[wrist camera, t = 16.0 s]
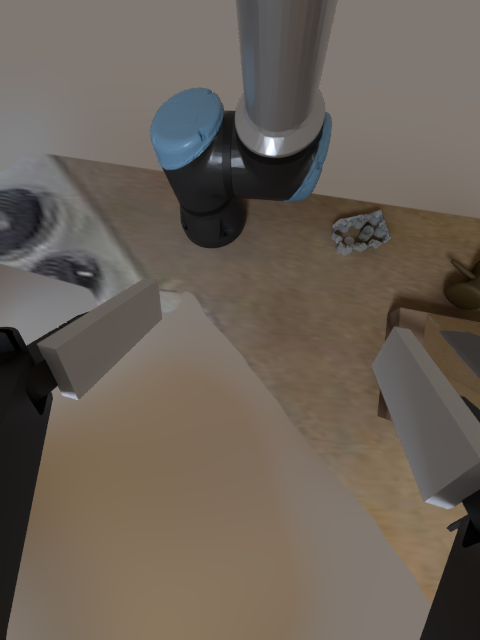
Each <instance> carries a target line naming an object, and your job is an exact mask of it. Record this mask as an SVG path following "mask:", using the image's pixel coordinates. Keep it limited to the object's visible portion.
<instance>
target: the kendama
mask: <svg viewBox="0 0 480 640" xmlns="http://www.w3.org/2000/svg"><path fill="white" fill-rule="evenodd" d="M451 263H452V264H453V265H454V266H455V267H456V268H457V269H458V270H459V271H460V272H462V273H463V274H464V275H465V276H466V277H467V278H468V279H469V281H468V282H464V283H458V284H454V285H451V286H449V287H448V288H447V289H446V291H445V296H446V298H447V299H448V300H449V301H450V302H451V303H452V304H454V305H455V306H457V307H459V308H462V309H468V310H472V309H478V308H480V261H479V262H478V263H476V265H475V266H474V268H473V273H471V272H470V271H469V270H468V269H466V268H465V267H464V266H462V265H461V264H460V263H458V262H457V261H455V260H451Z"/></svg>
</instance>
